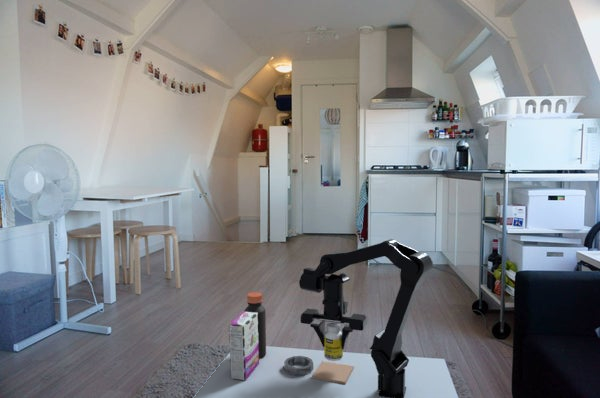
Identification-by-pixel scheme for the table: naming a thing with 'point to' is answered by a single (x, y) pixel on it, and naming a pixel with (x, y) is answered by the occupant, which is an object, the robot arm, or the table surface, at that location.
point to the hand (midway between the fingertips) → (333, 347)
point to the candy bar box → (244, 345)
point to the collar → (299, 370)
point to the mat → (333, 372)
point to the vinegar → (255, 306)
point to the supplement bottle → (333, 342)
